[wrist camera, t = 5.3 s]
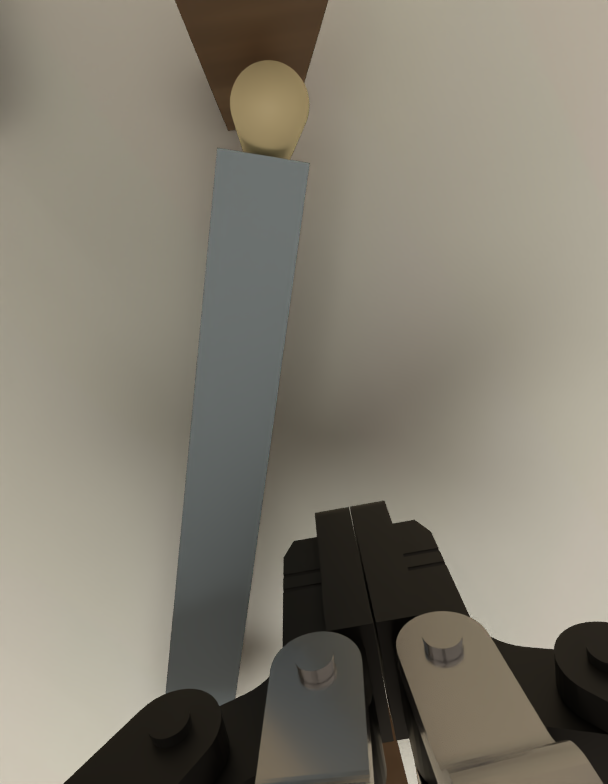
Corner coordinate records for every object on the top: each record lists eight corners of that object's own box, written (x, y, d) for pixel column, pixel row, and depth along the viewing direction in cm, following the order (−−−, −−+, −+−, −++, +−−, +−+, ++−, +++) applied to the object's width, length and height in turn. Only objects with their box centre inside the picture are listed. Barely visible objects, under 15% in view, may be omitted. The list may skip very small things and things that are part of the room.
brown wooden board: (213, 56, 13) (115, -259, 4) (281, 44, 13) (315, -291, 4) (347, 744, 19) (412, 1160, 11) (392, 736, 19) (493, 1143, 11)
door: (244, 131, 13) (226, 52, 7) (357, 150, 13) (438, 89, 7) (181, 720, 18) (138, 982, 12) (265, 724, 18) (265, 983, 12)
